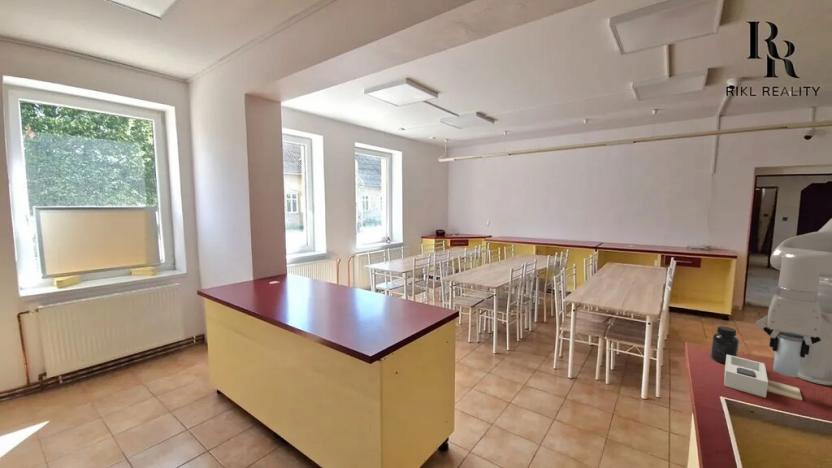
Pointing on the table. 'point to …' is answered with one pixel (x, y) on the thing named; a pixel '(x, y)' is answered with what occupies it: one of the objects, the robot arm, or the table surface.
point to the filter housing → (743, 382)
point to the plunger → (745, 372)
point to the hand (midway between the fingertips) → (787, 352)
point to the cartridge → (788, 354)
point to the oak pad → (784, 390)
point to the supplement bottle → (724, 344)
